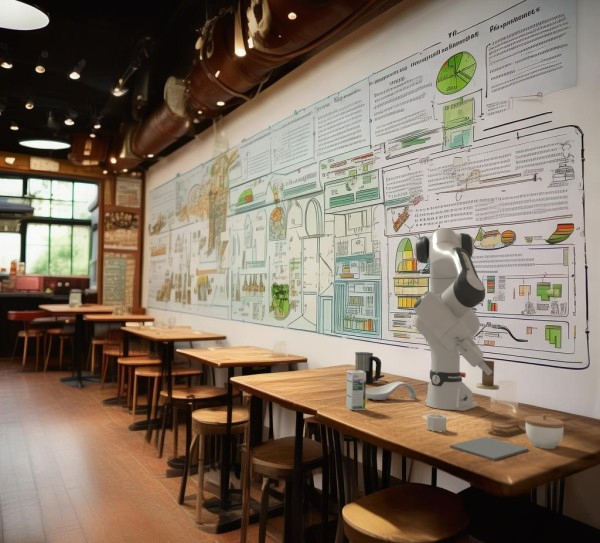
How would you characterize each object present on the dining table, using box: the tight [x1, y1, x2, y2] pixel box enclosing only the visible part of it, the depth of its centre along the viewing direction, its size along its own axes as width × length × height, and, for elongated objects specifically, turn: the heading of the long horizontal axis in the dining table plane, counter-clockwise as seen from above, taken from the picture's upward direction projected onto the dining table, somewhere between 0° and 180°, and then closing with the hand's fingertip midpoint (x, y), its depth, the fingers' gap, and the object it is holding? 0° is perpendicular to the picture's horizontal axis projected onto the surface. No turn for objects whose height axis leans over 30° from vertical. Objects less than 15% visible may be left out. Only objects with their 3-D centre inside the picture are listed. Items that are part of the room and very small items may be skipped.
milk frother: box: [354, 351, 385, 384], centre depth 265 cm, size 14×16×15 cm
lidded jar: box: [524, 413, 565, 450], centre depth 158 cm, size 11×11×9 cm
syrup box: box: [345, 370, 367, 411], centre depth 199 cm, size 6×6×14 cm
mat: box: [449, 436, 529, 461], centre depth 152 cm, size 18×14×1 cm
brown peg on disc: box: [476, 359, 500, 391], centre depth 153 cm, size 6×6×8 cm
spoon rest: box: [365, 381, 417, 401], centre depth 222 cm, size 24×12×7 cm, turn 110°
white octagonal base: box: [425, 413, 447, 432], centre depth 172 cm, size 6×6×4 cm
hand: (490, 372), depth 153 cm, fingers closed on brown peg on disc, 3 cm apart
